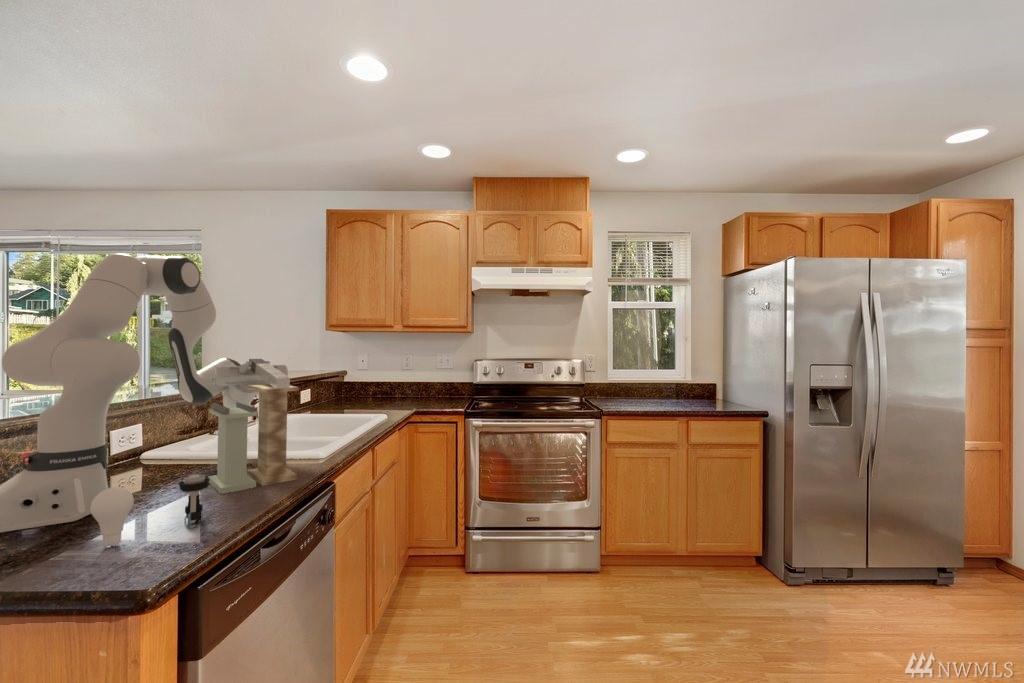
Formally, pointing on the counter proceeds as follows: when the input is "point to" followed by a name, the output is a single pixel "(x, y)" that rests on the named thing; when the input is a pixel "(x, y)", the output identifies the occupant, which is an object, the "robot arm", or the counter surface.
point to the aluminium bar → (270, 374)
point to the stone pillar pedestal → (272, 436)
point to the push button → (193, 497)
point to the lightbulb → (112, 512)
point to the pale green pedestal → (232, 448)
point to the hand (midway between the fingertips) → (258, 363)
